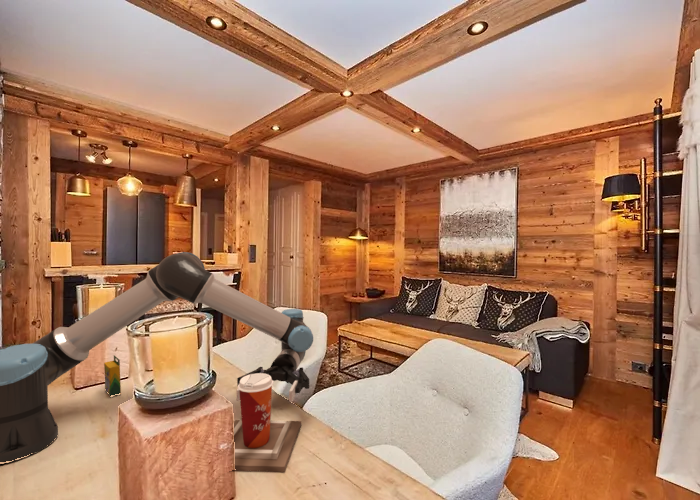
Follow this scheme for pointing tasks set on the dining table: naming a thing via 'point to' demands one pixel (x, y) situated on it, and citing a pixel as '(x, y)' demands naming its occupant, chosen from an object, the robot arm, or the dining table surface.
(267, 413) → the coffee cup
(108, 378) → the crayon box
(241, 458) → the walnut board
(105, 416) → the dining table surface
